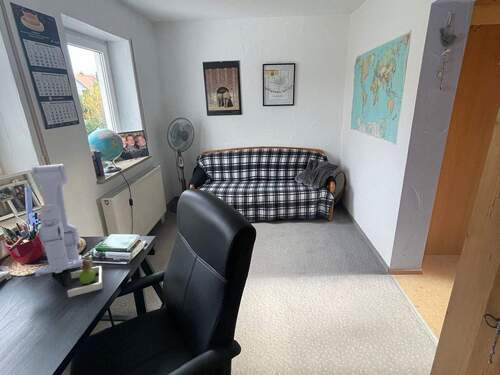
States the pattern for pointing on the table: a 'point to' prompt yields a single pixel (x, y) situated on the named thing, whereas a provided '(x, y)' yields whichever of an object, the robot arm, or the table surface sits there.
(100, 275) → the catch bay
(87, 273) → the snail figurine
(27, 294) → the table surface
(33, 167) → the robot arm
